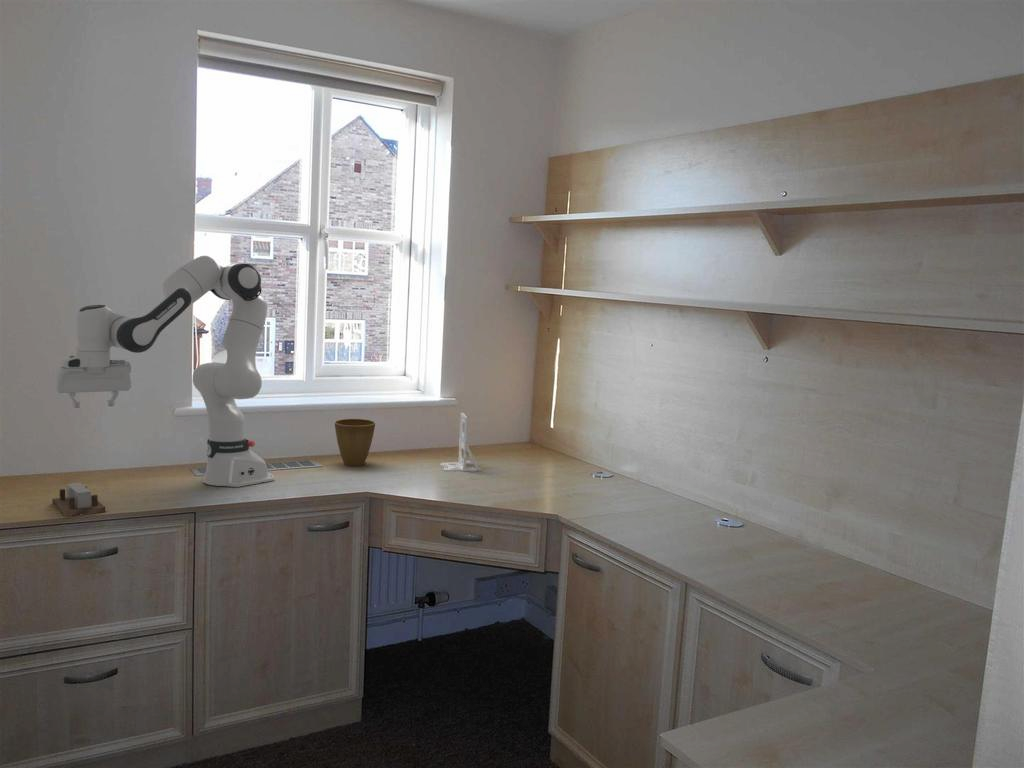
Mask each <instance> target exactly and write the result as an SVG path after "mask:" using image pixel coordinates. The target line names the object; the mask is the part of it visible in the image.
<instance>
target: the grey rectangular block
mask: <svg viewBox="0 0 1024 768" xmlns="http://www.w3.org/2000/svg"><path fill="white" fill-rule="evenodd" d="M86 487H87V486H85V485H83V484H82V483H81V482H75V483H66V497H67V499H68V500H69V498H72V497H74V498H75V507H76V508H86V507H91V496H92V495H91V494H92V492H91V490H89V488H88V487H87V488H86Z"/></svg>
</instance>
